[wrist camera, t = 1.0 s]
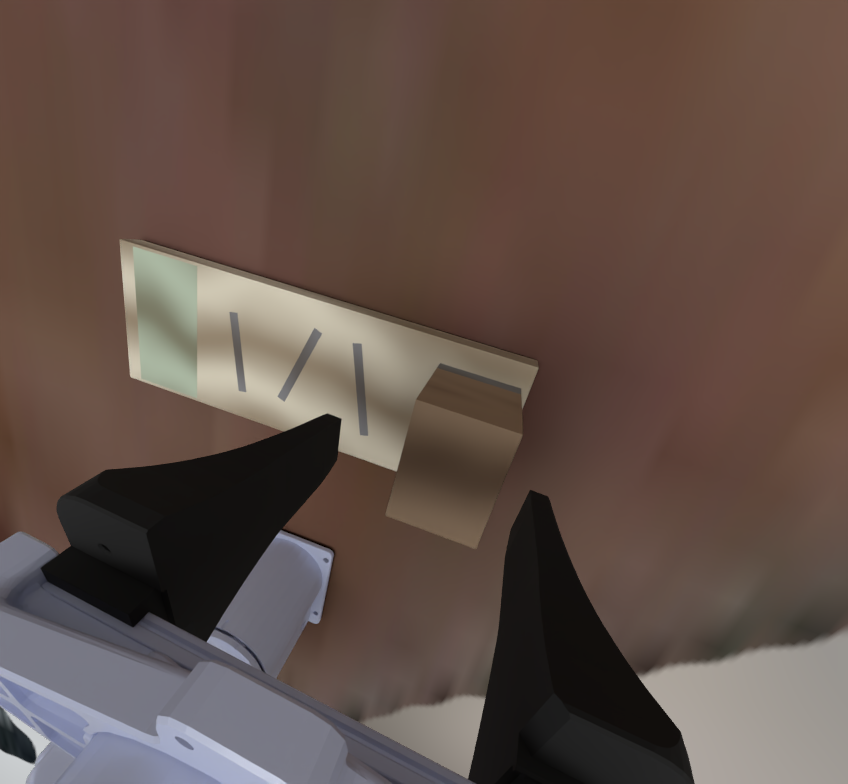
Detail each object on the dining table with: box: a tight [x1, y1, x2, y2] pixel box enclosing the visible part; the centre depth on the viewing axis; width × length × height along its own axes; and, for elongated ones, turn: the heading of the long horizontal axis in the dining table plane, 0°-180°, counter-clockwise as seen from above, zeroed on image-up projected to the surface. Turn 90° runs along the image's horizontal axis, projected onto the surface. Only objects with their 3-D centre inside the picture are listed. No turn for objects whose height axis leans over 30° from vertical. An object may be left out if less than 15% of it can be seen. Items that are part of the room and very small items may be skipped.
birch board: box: [120, 239, 539, 471], centre depth 25 cm, size 10×28×2 cm, turn 76°
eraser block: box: [385, 363, 523, 549], centre depth 21 cm, size 7×5×6 cm
